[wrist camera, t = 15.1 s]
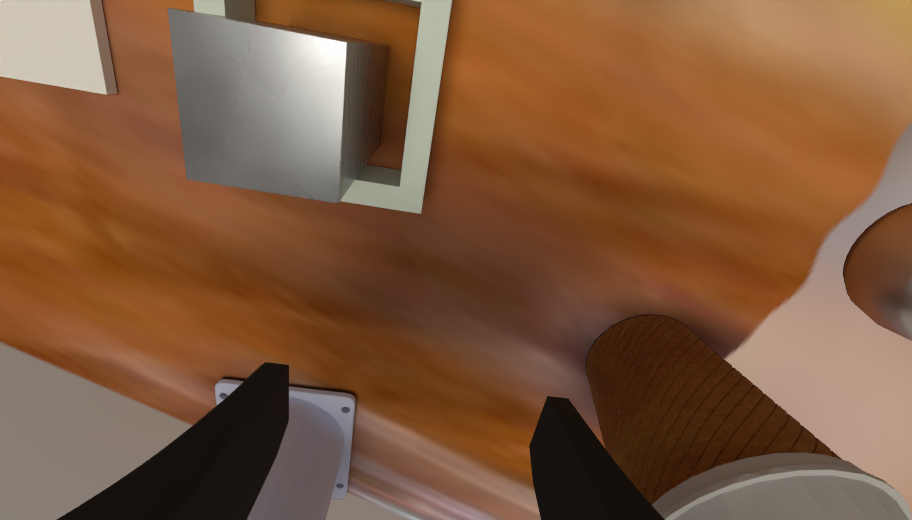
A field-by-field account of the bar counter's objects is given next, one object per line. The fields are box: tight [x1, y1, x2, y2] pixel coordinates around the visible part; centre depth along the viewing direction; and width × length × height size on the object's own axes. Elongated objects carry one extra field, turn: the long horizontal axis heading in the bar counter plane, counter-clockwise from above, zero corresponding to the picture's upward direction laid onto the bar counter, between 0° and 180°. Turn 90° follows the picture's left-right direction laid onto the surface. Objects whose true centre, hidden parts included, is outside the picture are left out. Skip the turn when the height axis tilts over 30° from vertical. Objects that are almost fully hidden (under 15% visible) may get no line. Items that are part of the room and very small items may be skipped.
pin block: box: [168, 8, 390, 203], centre depth 14 cm, size 4×4×8 cm
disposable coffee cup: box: [586, 315, 911, 520], centre depth 19 cm, size 10×10×12 cm
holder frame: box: [194, 0, 452, 214], centre depth 16 cm, size 8×8×2 cm
